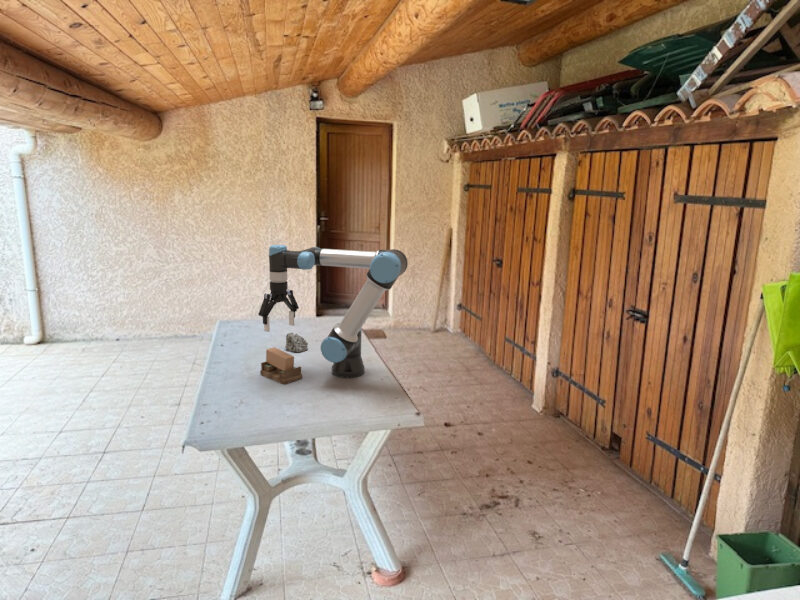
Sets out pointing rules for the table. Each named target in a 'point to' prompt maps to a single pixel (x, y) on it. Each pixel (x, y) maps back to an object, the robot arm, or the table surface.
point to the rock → (295, 343)
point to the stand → (280, 373)
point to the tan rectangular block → (279, 359)
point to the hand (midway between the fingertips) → (279, 328)
